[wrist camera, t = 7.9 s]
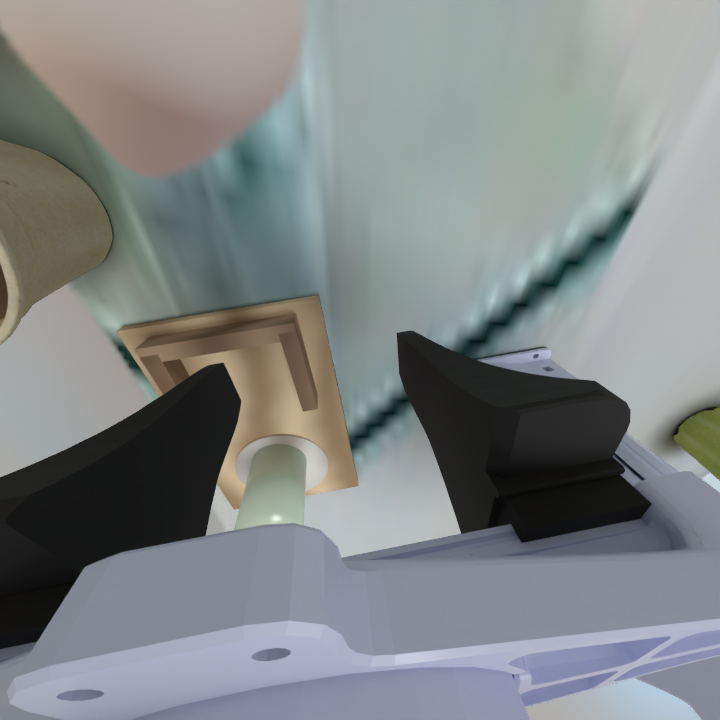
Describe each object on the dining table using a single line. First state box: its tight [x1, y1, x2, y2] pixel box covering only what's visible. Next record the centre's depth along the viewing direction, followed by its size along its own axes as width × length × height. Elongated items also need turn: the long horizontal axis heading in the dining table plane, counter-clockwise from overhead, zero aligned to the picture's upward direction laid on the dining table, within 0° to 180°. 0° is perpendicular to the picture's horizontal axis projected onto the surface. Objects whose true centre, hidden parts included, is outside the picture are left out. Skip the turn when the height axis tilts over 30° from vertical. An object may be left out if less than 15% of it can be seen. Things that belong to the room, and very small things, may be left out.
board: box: [116, 295, 358, 509], centre depth 24 cm, size 14×22×3 cm, turn 8°
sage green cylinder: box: [234, 444, 307, 530], centre depth 25 cm, size 5×8×6 cm, turn 7°
